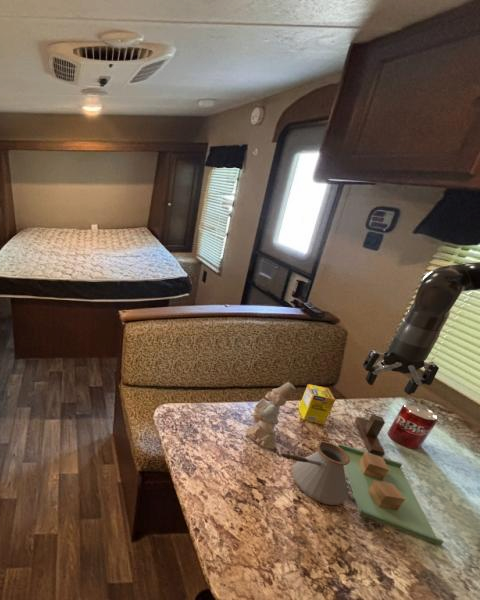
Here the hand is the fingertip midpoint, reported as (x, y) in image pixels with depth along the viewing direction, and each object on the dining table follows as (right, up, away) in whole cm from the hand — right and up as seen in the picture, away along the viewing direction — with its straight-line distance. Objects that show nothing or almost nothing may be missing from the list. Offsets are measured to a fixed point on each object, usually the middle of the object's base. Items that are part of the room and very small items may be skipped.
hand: (387, 388), depth 90 cm
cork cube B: (-15, -24, -14) cm, 31 cm away
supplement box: (-13, -14, +13) cm, 23 cm away
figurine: (-34, -16, +4) cm, 38 cm away
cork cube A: (-11, -21, -6) cm, 24 cm away
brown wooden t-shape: (-2, -17, +5) cm, 18 cm away
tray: (-12, -23, -10) cm, 28 cm away
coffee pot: (-34, -23, -11) cm, 42 cm away
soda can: (+9, -18, +5) cm, 21 cm away
